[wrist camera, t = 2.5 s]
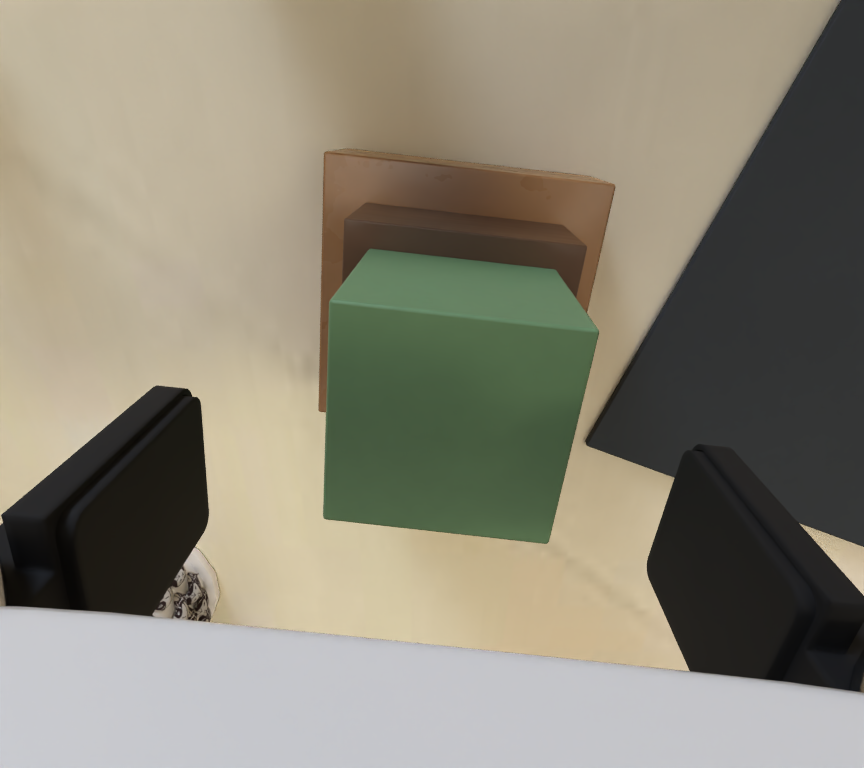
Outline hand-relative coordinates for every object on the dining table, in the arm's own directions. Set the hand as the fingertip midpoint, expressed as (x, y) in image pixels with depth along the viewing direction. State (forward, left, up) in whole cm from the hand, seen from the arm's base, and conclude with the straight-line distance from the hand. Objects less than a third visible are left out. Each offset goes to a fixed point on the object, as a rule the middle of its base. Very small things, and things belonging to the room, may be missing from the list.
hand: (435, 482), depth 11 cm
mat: (-19, -5, -15) cm, 25 cm away
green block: (0, 0, -7) cm, 7 cm away
